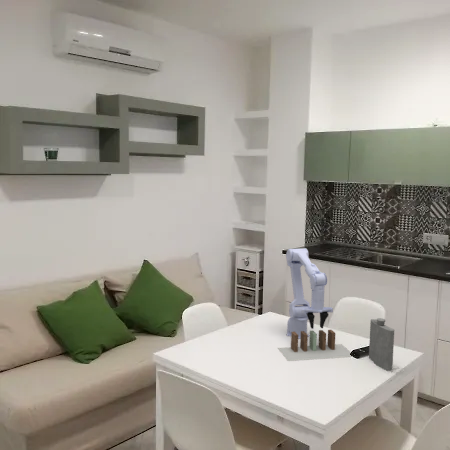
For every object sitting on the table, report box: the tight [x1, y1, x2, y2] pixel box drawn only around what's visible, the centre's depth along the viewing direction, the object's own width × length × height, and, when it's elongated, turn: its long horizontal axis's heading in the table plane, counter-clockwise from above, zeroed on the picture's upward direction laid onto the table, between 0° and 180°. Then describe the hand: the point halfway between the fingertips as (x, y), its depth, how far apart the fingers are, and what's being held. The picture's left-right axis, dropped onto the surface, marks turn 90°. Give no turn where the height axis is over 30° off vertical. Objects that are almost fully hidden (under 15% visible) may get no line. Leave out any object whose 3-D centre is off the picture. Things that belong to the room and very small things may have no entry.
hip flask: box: [368, 317, 395, 372], centre depth 220 cm, size 16×4×20 cm, turn 14°
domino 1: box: [290, 332, 299, 352], centre depth 235 cm, size 2×5×8 cm, turn 11°
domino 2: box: [299, 331, 309, 352], centre depth 235 cm, size 2×5×8 cm, turn 12°
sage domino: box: [308, 330, 318, 351], centre depth 236 cm, size 2×5×8 cm, turn 10°
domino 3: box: [317, 329, 327, 351], centre depth 237 cm, size 2×5×8 cm, turn 11°
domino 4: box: [326, 329, 336, 350], centre depth 238 cm, size 2×5×8 cm, turn 11°
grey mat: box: [277, 343, 353, 362], centre depth 233 cm, size 32×16×1 cm, turn 101°
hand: (316, 327), depth 236 cm, fingers open, 4 cm apart
